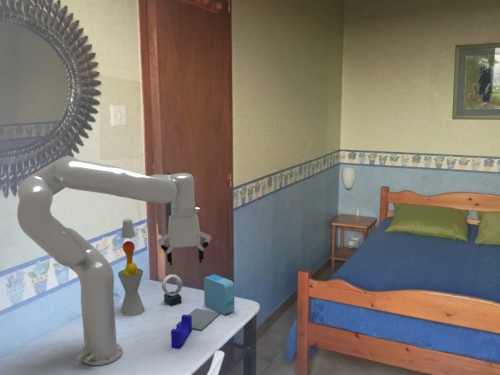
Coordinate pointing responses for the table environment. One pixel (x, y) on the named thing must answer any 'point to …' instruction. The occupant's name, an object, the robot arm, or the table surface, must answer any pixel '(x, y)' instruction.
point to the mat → (202, 318)
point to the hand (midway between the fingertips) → (185, 262)
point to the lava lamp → (130, 275)
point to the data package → (219, 294)
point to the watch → (173, 297)
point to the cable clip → (181, 332)
